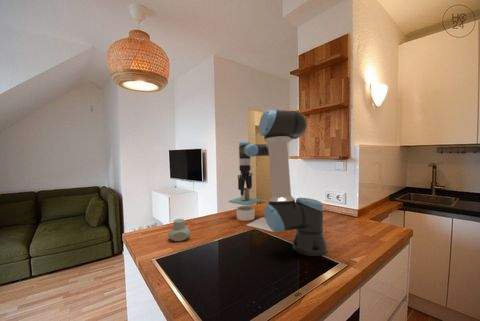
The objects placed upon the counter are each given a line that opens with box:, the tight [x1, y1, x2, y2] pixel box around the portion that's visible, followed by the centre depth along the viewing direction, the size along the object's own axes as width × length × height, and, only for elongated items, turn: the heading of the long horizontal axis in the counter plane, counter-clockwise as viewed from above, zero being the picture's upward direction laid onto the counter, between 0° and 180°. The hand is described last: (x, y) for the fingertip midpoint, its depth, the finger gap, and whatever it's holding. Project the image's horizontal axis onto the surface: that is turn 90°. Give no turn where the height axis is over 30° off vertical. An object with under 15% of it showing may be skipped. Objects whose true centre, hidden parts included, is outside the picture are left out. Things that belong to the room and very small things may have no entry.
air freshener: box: [168, 218, 191, 242], centre depth 113 cm, size 11×8×10 cm
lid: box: [228, 187, 263, 206], centre depth 146 cm, size 16×16×9 cm
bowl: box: [236, 205, 256, 222], centre depth 146 cm, size 12×12×7 cm
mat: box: [246, 216, 274, 232], centre depth 134 cm, size 19×19×1 cm
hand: (245, 198), depth 146 cm, fingers closed on lid, 5 cm apart
